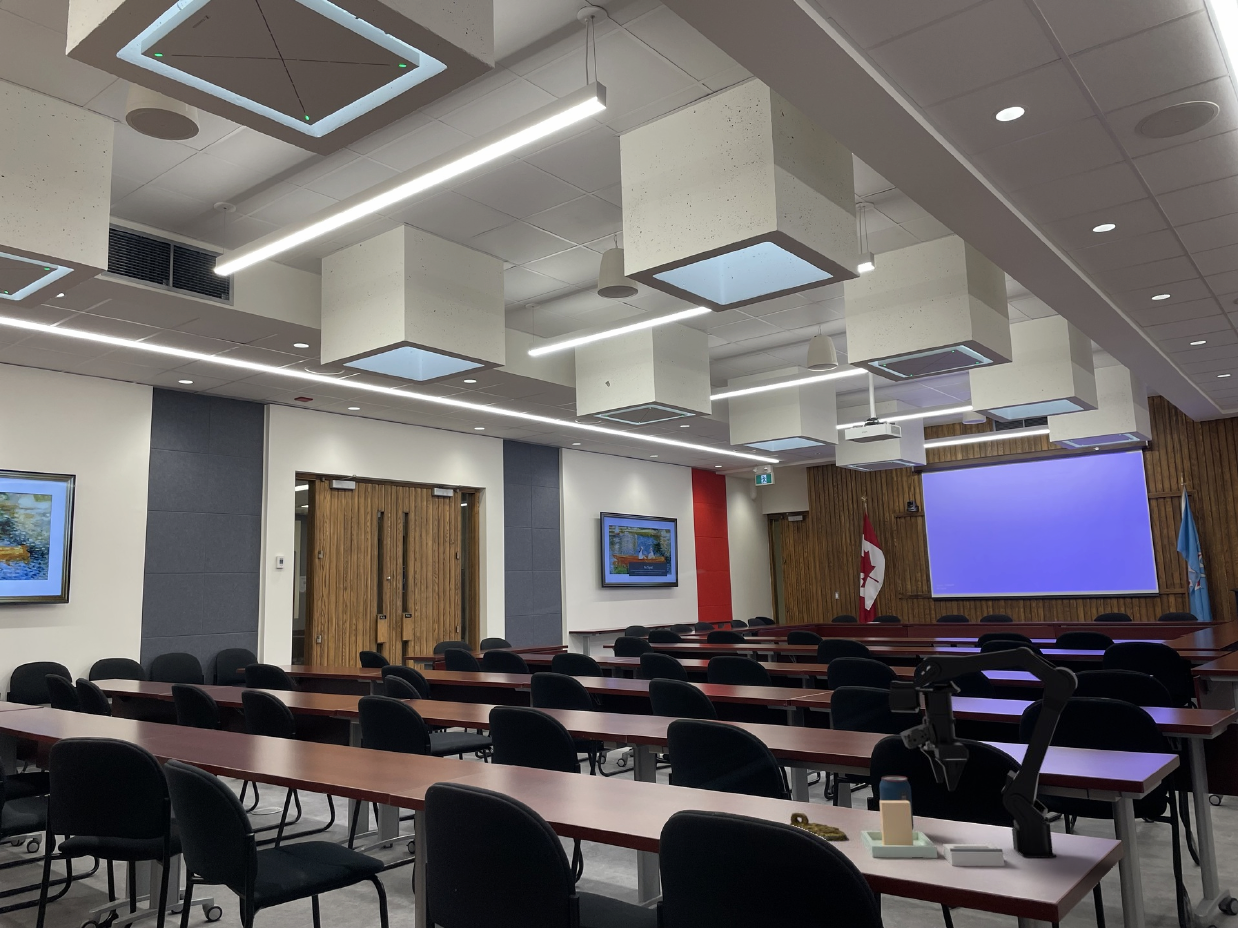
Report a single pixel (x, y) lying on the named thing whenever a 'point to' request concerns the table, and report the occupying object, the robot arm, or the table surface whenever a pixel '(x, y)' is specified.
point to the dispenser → (973, 855)
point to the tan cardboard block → (896, 823)
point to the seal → (818, 828)
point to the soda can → (896, 790)
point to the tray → (899, 846)
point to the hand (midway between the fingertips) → (945, 786)
